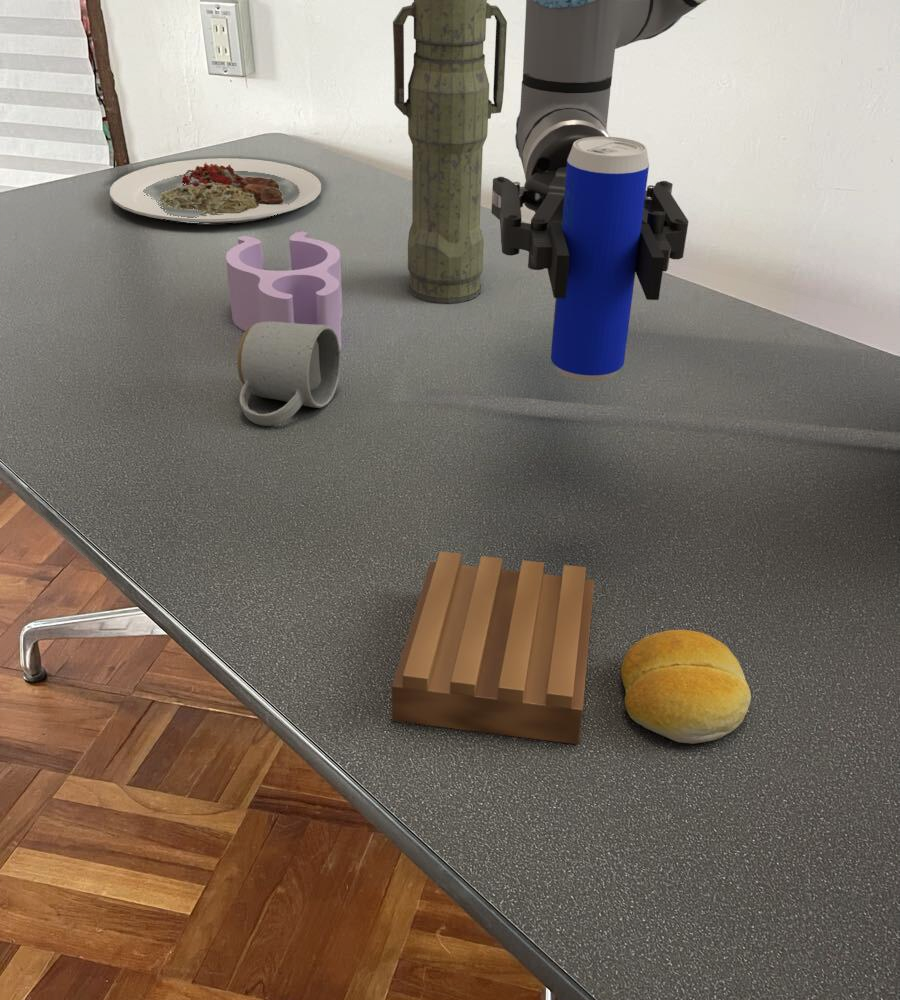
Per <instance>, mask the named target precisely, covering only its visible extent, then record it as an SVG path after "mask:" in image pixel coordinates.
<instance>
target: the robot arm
mask: <svg viewBox="0 0 900 1000" xmlns="http://www.w3.org/2000/svg"><path fill="white" fill-rule="evenodd" d="M706 1H707V0H525V2H526V3H525V20H524V24H525V25H524V41H523V42H524V44H523V63H522V80H521V89H520V105H519V106H520V107H519V113H518V115H517V117H516V123H515V129H516V130H515V131H516V132H515V134H514V135H515V136H514V140H515V141H514V142H515V147H516V149H517V153H518V157H519V158H520V161H521V166H522V169H523V173H524V179H525V182H524V185H523V186H521V183H520V182H518V181H512V180H510V179H509V178H508V177H505V176H497V177H494V178H493V179H492V188H491V189H492V191H491V209H490V210H491V212H490V213H491V214H492V215H493V216H494V217H495V218H497V220H499V224H500V225H499V226H500V227H499V228H500V243H501V253H502V254H503V255H505V256H509V257H510V256H516V255H519V254H520V250H523V251H526V252H528V259H527V260H528V261H527V268H528V269H529V270H532V271H543V270H544V269H547V273H548V277H549V281H550V282H549V283H550V287H551V292H552V295H553V298H554V299H556V298H566V290H567V279H568V268H569V257H570V255H569V252H568V248H567V244H566V241H565V237H564V234H563V230H562V217H563V205H564V193H565V181H566V169H567V159H568V157H569V154H570V151H571V149H572V146H573V143H574V142H575V141H577V140H579V139H582V138H588V137H611V135H610V134H609V132H608V120H609V119H608V118H609V109H610V108H609V107H610V99H611V87H612V82H613V80H612V79H613V72H614V71H613V70H614V64H615V63H614V62H615V53H616V49H620V48H622V47H626V46H628V45H630V44H633V43H636V42H640V41H644V40H651V39H653V38H655V37H657V36H659V35H661V34H662V33H665V32H667V31H668V30H670V29H671V28H672V27H674V26H675V24H677V23H678V22H679V21H680V20H681V19H682V17H684V16H685V15H687V14H688V13H690V12H691V11H693V10H695V9H696V8H698V7H699V6H700V5H702V4H703V3H705V2H706ZM673 186H674V185H673V183H672V182H669V181H667V180H660V181H657V182H655V184H654V185H652V184H651V185H647V186H646V193H645V201H644V209H643V217H642V225H641V233H640V240H639V248H638V256H637V264H636V272H635V275H636V276H637V277H636V278H637V279H638V282H639V284H640V287H641V289H642V292H643V294H644V297H645V299H646V300H647V301H659V299H660V293H661V285H662V280H663V272H667V271H668V270H669V264H670V259H671V260H681V259H683V258H684V254H685V248H686V240H687V235H688V228H689V220H688V218H687V216H686V215H685V213H684V212H683V210H682V208H681V207H680V206H679V204H678V203H677V201H676V200H675V198H674V196H673V195H672V193H673ZM524 206H525V207H526V208H527V209H528V210H531V211H533V212H534V215H533V216H532V218H531V219H530V223H528V222H522V219H523V218H522V209H521V208H523V207H524Z"/></svg>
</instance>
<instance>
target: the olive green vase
mask: <svg viewBox="0 0 900 1000" xmlns="http://www.w3.org/2000/svg"><path fill="white" fill-rule="evenodd" d="M408 17H413V39H414V40H415V51H414V53H413V66H412V70H411V73H410V77H409V79H408V84H407V99H406V100H405V23H406V21H407V19H408ZM492 17H494V18H495V42H494V43H495V44H494V45H495V46H494V63H493V64H494V67H493V71H494V72H493V90H492V91H493V92H492V93H493V95H492V97H493V99H492V100H493V102H492V101H491V100H490V82H489V77H488V74H487V71H486V70H487V69H486V67H485V65H486V63H485V62H486V60H485V59H486V56H485V55H486V54H484V42H486V38H487V37H486V34H487V33H486V32H487V19H491V20H492ZM507 29H508V21H507V19H506V17H505V16H504V14H503V13H502V11H501V9H500V8H499V7H498V6H497V5H491V4H490V3H489V2H488V0H413V2H412V3H411V4H410V5H407V6H403V7H401V9H400V10H399V12H398V13H397V15H396V16H395V18H394V19H393V21H392V36H393V66H394V67H393V70H394V71H393V75H394V77H393V78H394V80H393V81H394V82H393V83H394V84H393V86H394V87H393V88H394V90H393V91H394V92H393V93H394V99H393V100H394V101H393V102H394V103H393V104H394V105H395V107H396V108H397V109H398V110H399V112H401V114H403V116H406V117H407V135H408V137H409V139H410V143H411V147H412V150H411V151H412V158H411V159H412V165H411V166H412V170H411V171H412V172H411V173H412V174H411V175H412V177H411V179H412V180H411V181H412V182H411V183H412V187H411V189H412V191H411V192H412V195H411V196H412V197H411V198H412V199H411V201H412V203H411V205H412V206H411V207H412V213H411V214H412V217H411V218H412V222H411V225H410V228H409V231H408V240H407V270H408V272H409V285H408V290H410V291H409V293H410V294H411V293H412V294H413V295H415V296H416V297H418V298H421V299H423V300H422V301H424V300H426V301H425V302H428V301H430V302H429V303H433V302H437V303H436V304H446V303H449V304H459V303H458V302H460V303H464V301H465V302H468V301H467V300H469V301H471V300H473V299H472V298H474V297H476V296H477V295H478V294H479V293H480V294H481V291H482V289H481V287H482V284H481V276H482V274H483V270H484V246H485V245H484V237H483V233H482V229H481V202H482V180H483V179H482V175H483V151H484V150H483V149H484V148H483V147H484V145H485V142H486V140H487V138H488V133H489V132H488V130H489V129H488V128H489V120H490V119H491V118H492V114H500V113H502V110H503V109H502V108H503V101H504V94H505V93H504V91H505V74H506V73H505V72H506V54H507V53H506V52H507V50H506V49H507V31H508V30H507ZM412 294H411V295H412ZM480 294H479V295H480ZM413 295H412V296H413ZM479 295H478V296H479ZM415 296H414V297H415ZM478 296H477V297H478ZM416 297H415V298H416ZM477 297H476V298H477ZM418 298H417V299H418ZM421 299H420V300H421ZM470 299H471V300H470ZM474 299H475V298H474Z"/></svg>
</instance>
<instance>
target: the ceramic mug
mask: <svg viewBox="0 0 900 1000" xmlns="http://www.w3.org/2000/svg"><path fill="white" fill-rule="evenodd" d="M341 360H342V359H341V351H340V346H339V342H338V337H337V335H336V333H335V332H334V330H333V329H332V328H331V327H329V326H326V325H314V324H297V323H285V322H272V321H268V322H259V323H255V324H253V325H251V326H250V327H249V328H248V329H247V330H246V331H244V332H243V335H242V337H241V339H240V341H239V345H238V348H237V355H236V366H237V367H236V369H237V374H238V378H239V380H240V382H241V384H242V387H241V389H240V393H239V406H240V408H241V410H242V412H243V414H244V416H245V417H246V419H248V420H249V421H250V422H252V423H254V424H255V425H258V426H263V427H273V426H276V425H277V426H278V425H280V424H283V423H285V422H287V421H289V420H290V419H291V418H292V417H294V416H295V414H296V413H297V412H299V410H300V409H301V407H302V406H304V407H310V408H316V409H321V408H323V407H325V406H327V405H328V404H329V403H330V402H331V401H332V399H333V397H334V395H335V394H336V391H337V388H338V384H339V380H340V376H341V366H342V363H341ZM252 394H253V395H255V396H258V397H260V398H263V399H270V400H276V401H281V402H284V403H285V402H286V404H284V405H283V406H282V407H280V408H279V409H277V410H274V411H271V412H268V413H257V412H256V411H255V410H253V409H250V407H249V406H248V405H249V401H250V398H251V396H252Z"/></svg>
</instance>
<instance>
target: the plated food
mask: <svg viewBox="0 0 900 1000" xmlns="http://www.w3.org/2000/svg"><path fill="white" fill-rule="evenodd" d="M234 171H248V172H257V173H258V172H259V173H265V174H270V175H275V176H278V177H281V178H285V179H287V180H289V181H291V182H293V183H294V184H295V185H297V187H298V189H299V192H300V193H299V196H298V198H297V199H296V200H295V201H294V202H292V203H290V204H289V205H288V204H285V203H282V202H283V201H284V199H283V197H282V194H283V193H281V191H280V189H278V188H279V187H280V186H279V184H278V183H277V182H276V181H275V180H274V179H270V178H263V177H250V176H249V177H244V178H243V177H241V176H239V175H238V174H235V172H234ZM189 173H191V174H190V176H188V175H187V174H189ZM179 175H183V177H182V183H184V184H185V183H186V185H184V184H183V185H182V187H178V188H174V189H172V190H169V191H165V192H162V193H161V195H160V200H159V201H161V202H162V203H161V206H168V205H170V206H172V207H173V208H174V209H176V208H177V209H180V208H182V210H187V209H193V208H194V209H196V210H197V209H198V210H201V211H202V213H201V214H199V215H198V216H199V217H197V216H196V217H197V218H195V217H194V218H187V217H181V216H179V217H178V216H173V215H171V216H170V215H169V214H168V215H167V213H165V212H164V211H163V209H161V208H160V207H161V206H159V205H160V204H159V205H158V203H157V202H158V201H157V202H156V200H155V199H154V198H153V197H150V195H149V194H148V195H149V196H147V195H146V193H144V192H143V190H144V189H146V187H148V186H150V185H152V184H154V183H156V182H158V181H161V180H163V179H167V178H171V177H174V176H179ZM186 175H187V176H186ZM321 191H322V183H321V181H320V180H319V178H318V177H317V176H315V175H314V174H313V173H311V172H309V171H308V170H305V169H302V168H300V167H297V166H293V165H291V164H287V163H282V162H277V161H270V160H262V159H251V158H237V157H236V158H235V157H234V158H233V157H231V158H228V157H227V158H225V157H222V158H221V157H219V158H197V159H188V160H179V161H172V162H171V161H170V162H165V163H160V164H157V165H152V166H146V167H144V168H140V169H138V170H135V171H132V172H130V173H127V174H125V175H123V176H121V177H119V178H118V179H117V180H116V181H114V182H113V183H112V185H111V187H110V188H109V196H110V199H111V200H112V202H113V203H114V204H115V205H117V206H118V207H120V208H122V210H125V211H128V212H130V213H133V214H135V215H136V214H137V215H140V216H145V217H148V218H153V219H159V220H163V219H166V220H165V221H167V220H175V221H189V222H199V223H233V224H241V223H248V222H249V221H250V222H254V221H261V220H265V219H269V218H271V216H272V217H275V216H278V215H280V214H284V213H288V212H291V211H294V210H297V209H299V208H301V207H304V206H307V205H309V204H310V203H311V202H313V201H314V200H316V199H317V197H318V196H319V195H320V194H321V193H322V192H321ZM144 195H145V196H144ZM151 198H153V199H154V200H153V199H151ZM284 202H285V201H284ZM159 203H160V202H159ZM162 208H163V207H162ZM165 211H166V210H165ZM206 213H207V214H206ZM208 213H209V214H208ZM277 214H278V215H277ZM274 215H275V216H274Z"/></svg>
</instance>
